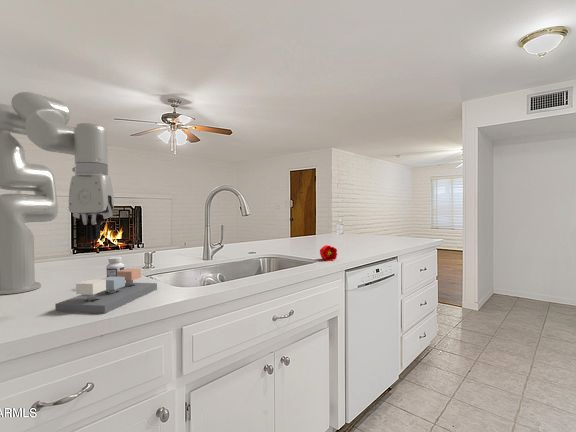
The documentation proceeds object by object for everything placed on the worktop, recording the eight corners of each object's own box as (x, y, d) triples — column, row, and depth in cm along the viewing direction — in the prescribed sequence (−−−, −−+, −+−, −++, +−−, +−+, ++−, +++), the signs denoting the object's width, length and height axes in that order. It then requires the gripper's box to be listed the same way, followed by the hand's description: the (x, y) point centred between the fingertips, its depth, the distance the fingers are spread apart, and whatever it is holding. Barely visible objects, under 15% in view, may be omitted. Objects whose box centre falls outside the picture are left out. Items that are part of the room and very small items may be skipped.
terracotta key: (117, 286, 97) (117, 271, 97) (127, 283, 102) (127, 268, 102) (131, 287, 97) (131, 271, 97) (141, 283, 101) (140, 268, 101)
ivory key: (76, 301, 81) (76, 283, 81) (90, 296, 86) (90, 279, 86) (93, 302, 81) (92, 283, 81) (106, 297, 86) (105, 279, 85)
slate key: (98, 296, 89) (98, 279, 89) (110, 292, 94) (110, 276, 94) (114, 297, 89) (113, 280, 89) (125, 292, 94) (124, 276, 93)
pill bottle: (120, 283, 111) (120, 256, 111) (127, 285, 108) (126, 257, 108) (104, 286, 107) (103, 257, 107) (110, 288, 104) (110, 259, 104)
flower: (333, 248, 165) (340, 249, 158) (328, 261, 164) (334, 264, 157) (321, 242, 163) (326, 243, 156) (315, 256, 163) (321, 258, 155)
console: (55, 311, 81) (55, 303, 80) (117, 288, 104) (117, 282, 104) (105, 313, 79) (104, 305, 79) (157, 289, 102) (156, 283, 102)
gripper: (54, 170, 81) (56, 240, 81) (107, 168, 79) (109, 240, 79) (77, 173, 88) (78, 238, 89) (126, 172, 86) (127, 238, 87)
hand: (93, 239), depth 84 cm, fingers closed
